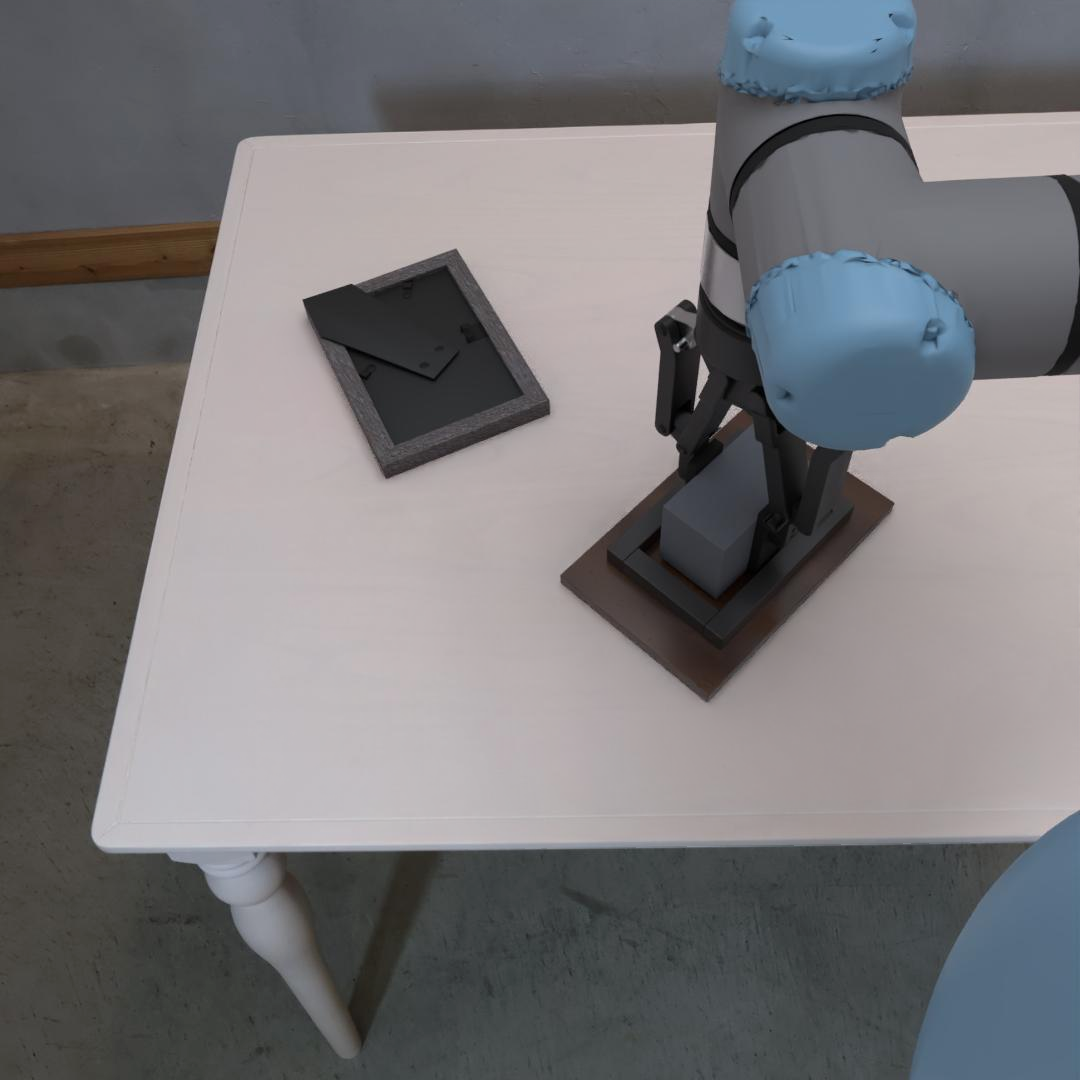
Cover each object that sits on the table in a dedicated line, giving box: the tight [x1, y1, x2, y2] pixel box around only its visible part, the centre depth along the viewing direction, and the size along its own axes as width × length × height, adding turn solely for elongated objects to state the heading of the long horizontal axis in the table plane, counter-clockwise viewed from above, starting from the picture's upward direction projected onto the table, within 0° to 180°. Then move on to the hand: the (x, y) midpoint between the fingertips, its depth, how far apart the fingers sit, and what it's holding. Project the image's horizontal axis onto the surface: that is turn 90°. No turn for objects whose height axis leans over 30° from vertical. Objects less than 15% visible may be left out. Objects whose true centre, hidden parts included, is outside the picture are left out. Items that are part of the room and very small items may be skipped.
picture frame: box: [301, 248, 551, 479], centre depth 87 cm, size 13×2×18 cm
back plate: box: [560, 409, 895, 703], centre depth 77 cm, size 20×13×2 cm, turn 136°
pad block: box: [659, 424, 810, 599], centre depth 74 cm, size 9×5×6 cm, turn 136°
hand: (730, 533), depth 76 cm, fingers closed on pad block, 5 cm apart
